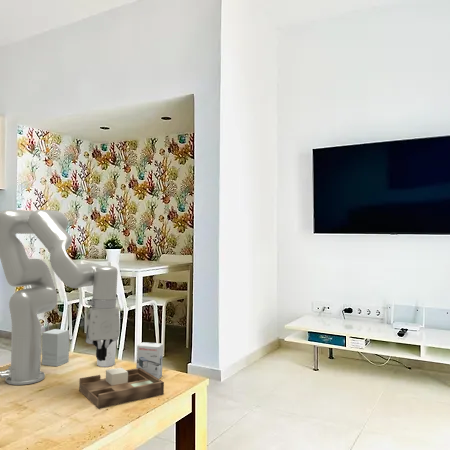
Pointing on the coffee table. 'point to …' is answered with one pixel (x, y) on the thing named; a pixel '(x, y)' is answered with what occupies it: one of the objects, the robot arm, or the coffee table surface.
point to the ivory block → (116, 376)
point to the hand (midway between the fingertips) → (101, 359)
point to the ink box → (150, 358)
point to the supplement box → (55, 347)
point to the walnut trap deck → (121, 388)
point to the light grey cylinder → (109, 355)
